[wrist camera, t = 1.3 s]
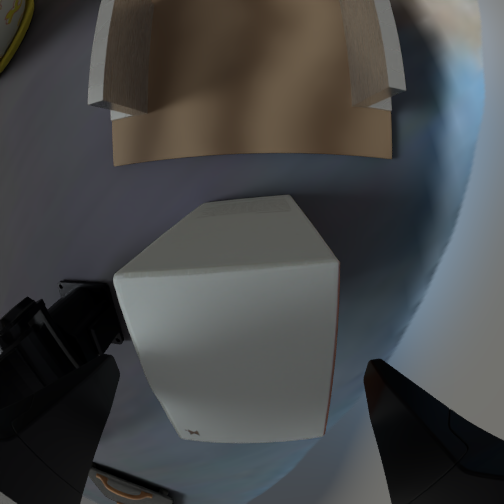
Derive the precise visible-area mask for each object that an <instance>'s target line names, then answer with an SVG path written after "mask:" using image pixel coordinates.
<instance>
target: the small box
mask: <svg viewBox="0 0 504 504" xmlns="http://www.w3.org/2000/svg"><path fill="white" fill-rule="evenodd" d="M113 282H114V287H115V290H116V293H117V297H118V301H119V304H120V307H121V310H122V313H123V316H124V319H125V322H126V325H127V328H128V330H129V333H130V336H131V338H132V341H133V343H134V346H135V349H136V351H137V354H138V357H139V359H140V362H141V365H142V368H143V371H144V373H145V376H146V378H147V380H148V383H149V385H150V387H151V389H152V390H153V392H154V393H155V395H156V397H157V398H158V400H159V402H160V403H161V405H162V407H163V409H164V411H165V412H166V414H167V416H168V418H169V420H170V421H171V423H172V425H173V426H174V428H175V430H176V432H177V433H178V435H179V437H180V438H182V439H188V440H195V441H204V442H219V443H264V442H280V441H292V440H301V439H309V438H316V437H322V436H324V434H325V431H326V425H327V419H328V413H329V406H330V399H331V391H332V383H333V375H334V366H335V357H336V346H337V331H338V314H339V290H340V261H339V260H338V259H337V258H336V257H335V255H334V254H333V252H332V251H331V249H330V248H329V247H328V245H327V244H326V243H325V241H324V240H323V238H322V237H321V236H320V234H319V233H318V231H317V230H316V229H315V227H314V226H313V225H312V223H311V222H310V221H309V219H308V218H307V217H306V215H305V214H304V213H303V211H302V210H301V209H300V207H299V206H298V205H297V203H296V202H295V201H294V200H293V198H292V197H291V196H290V195H278V196H266V197H255V198H244V199H235V200H225V201H216V202H208V203H203V204H202V205H200V206H199V207H198V208H196V209H195V210H194V211H192V212H191V213H190V214H188V215H187V216H186V217H184V218H183V219H182V220H181V221H179V222H178V223H177V224H176V225H174V226H173V227H172V228H170V229H169V230H168V231H167V232H165V233H164V234H163V235H162V236H160V237H159V238H158V239H157V240H155V241H154V242H153V243H152V244H151V245H149V246H148V247H147V248H146V249H145V250H143V251H142V252H141V253H140V254H139V255H137V256H136V257H135V258H134V259H133V260H131V261H130V262H129V263H128V264H126V265H125V266H124V267H123V268H121V269H120V270H119V271H118V272H116V273H115V274H114V277H113Z"/></svg>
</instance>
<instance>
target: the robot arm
mask: <svg viewBox="0 0 504 504" xmlns="http://www.w3.org/2000/svg"><path fill="white" fill-rule="evenodd" d="M62 286H63V287H62ZM103 288H104V289H105V290H104V289H103ZM58 289H59V292H60V295H61V299H59V300H58V301H57V302H56V303H55V304H53V305H52V306H51V307H50V308H49V309H48V310H47V308H46V307H45V303H44V301H43V299H40V300H39V301H37V302H35V301H34V300H32V299H31V298H29V297H26V298H25V299H23V300H22V301H21V302H19V303H18V304H17V305H16V306H14V307H13V308H12V309H11V310H10V311H9V312H8V313H7V314H5V315H4V316H3V317H2V318H1V319H0V504H80V502H81V498H82V494H83V491H84V488H85V484H86V481H87V477H88V474H89V471H90V468H91V465H92V462H93V458H94V455H95V452H96V449H97V447H98V444H99V441H100V438H101V435H102V432H103V430H104V427H105V424H106V421H107V419H108V416H109V413H110V410H111V407H112V404H113V400H114V396H115V392H116V389H117V385H118V381H119V378H120V372H119V369H118V367H117V364H116V362H115V359H114V357H113V356H112V355H107V354H104V352H105V351H106V350H107V348H108V347H109V345H110V344H111V343H114V344H122V343H123V341H124V338H123V335H122V332H121V327H120V324H119V321H118V318H117V314H116V311H115V308H114V304H113V301H112V297H111V293H110V289H109V286H108V285H107V284H105V283H94V282H76V281H60V282H59V283H58ZM99 355H100V356H99ZM364 386H365V392H366V398H367V403H368V409H369V415H370V420H371V424H372V427H373V430H374V434H375V438H376V441H377V445H378V449H379V453H380V456H381V460H382V464H383V468H384V472H385V476H386V480H387V484H388V489H389V493H390V498H391V503H392V504H504V440H502V439H500V438H498V437H496V436H493V435H492V434H490V433H488V432H486V431H484V430H483V429H481V428H479V427H477V426H476V425H474V424H472V423H470V422H469V421H467V420H466V419H464V418H463V417H461V416H460V415H458V414H457V413H455V412H454V411H453V410H451V409H449V408H448V407H447V406H445V405H444V404H443V403H441V402H440V401H438V400H437V399H436V398H434V397H433V396H432V395H430V394H429V393H427V392H426V391H425V390H423V389H422V388H420V387H419V386H418V385H416V384H415V383H413V382H412V381H411V380H409V379H408V378H407V377H405V376H404V375H403V374H401V373H400V372H398V371H397V370H396V369H394V368H393V367H392V366H390V365H389V364H387V363H386V362H385V361H383V360H382V359H373V360H370V361H369V362H368V365H367V369H366V372H365V375H364Z"/></svg>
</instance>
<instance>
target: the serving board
mask: <svg viewBox="0 0 504 504" xmlns="http://www.w3.org/2000/svg"><path fill="white" fill-rule="evenodd" d="M95 468H96V464H95V463H93V462H92V465H91V468H90V471H89V474H88V476H89V477H90V478H91V479H92V481H93V482H94V483H95V485H96V486H97V487H98V488H99V490H100V491H101V492H102V493H103V494H104V496H106V497H108V498H109V499H111V500H113V501H116V502H117V504H173V499H172V498H171V497H168V496H167V495H168V493H169V491H168V490H166V489H160V490H159V492H160V493H159V492H155V491H152V490H150V489H147V488H145V487H142V486H139V485H137V484H134V483H132V482H129V481H127V480H124V479H121V478H119V477H116V476H114V475H111V474H109V473H106V472H103V471H101V470H98V469H95Z"/></svg>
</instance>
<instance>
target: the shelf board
mask: <svg viewBox="0 0 504 504" xmlns="http://www.w3.org/2000/svg"><path fill="white" fill-rule="evenodd" d="M151 1H152V2H153V4H154V10H153V18H152V28H151V39H150V52H149V71H148V114H143V115H138V116H133V117H129V118H124V119H120V120H115V121H112V135H113V160H114V166H121V165H127V164H134V163H141V162H148V161H156V160H165V159H174V158H184V157H196V156H209V155H225V154H249V153H312V154H336V155H352V156H365V157H376V158H386V159H392V129H391V111H384V110H377V109H371V108H363V107H355V106H352V97H351V83H350V72H349V62H348V53H347V45H346V38H345V31H344V24H343V18H342V13H341V7H340V2H339V0H151Z"/></svg>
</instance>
